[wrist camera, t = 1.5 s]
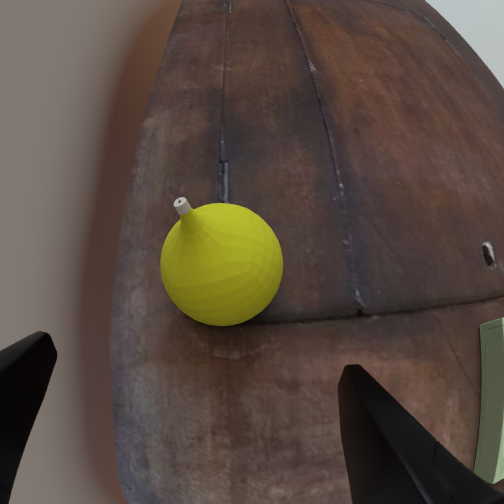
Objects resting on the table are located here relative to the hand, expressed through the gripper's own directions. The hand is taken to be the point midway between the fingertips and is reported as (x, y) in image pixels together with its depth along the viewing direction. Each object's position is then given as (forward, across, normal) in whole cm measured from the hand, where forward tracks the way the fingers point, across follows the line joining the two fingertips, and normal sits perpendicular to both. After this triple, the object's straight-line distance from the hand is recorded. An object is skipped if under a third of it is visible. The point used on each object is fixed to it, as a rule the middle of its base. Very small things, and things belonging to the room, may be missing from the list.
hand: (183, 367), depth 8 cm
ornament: (+13, 0, +4) cm, 14 cm away
